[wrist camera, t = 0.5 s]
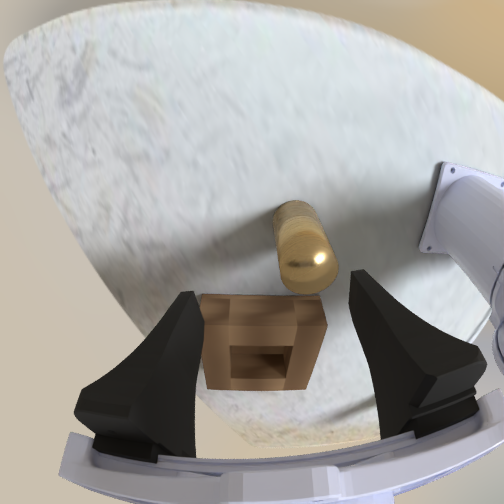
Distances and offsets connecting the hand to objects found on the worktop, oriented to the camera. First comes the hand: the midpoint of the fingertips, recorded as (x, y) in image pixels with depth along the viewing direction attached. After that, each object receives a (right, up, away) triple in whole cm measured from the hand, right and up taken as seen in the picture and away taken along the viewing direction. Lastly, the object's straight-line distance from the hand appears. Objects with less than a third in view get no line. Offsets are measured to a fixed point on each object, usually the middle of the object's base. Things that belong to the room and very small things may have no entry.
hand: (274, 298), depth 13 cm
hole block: (0, -6, +14) cm, 15 cm away
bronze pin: (+2, +4, +7) cm, 9 cm away
